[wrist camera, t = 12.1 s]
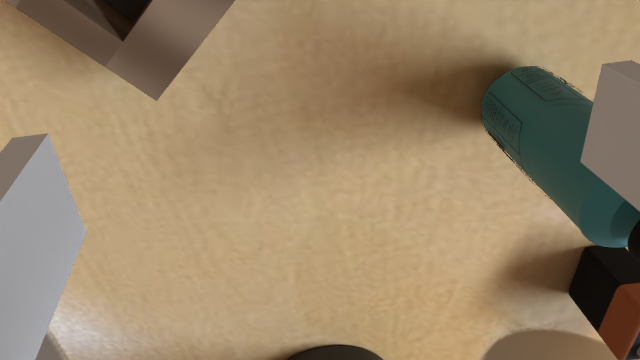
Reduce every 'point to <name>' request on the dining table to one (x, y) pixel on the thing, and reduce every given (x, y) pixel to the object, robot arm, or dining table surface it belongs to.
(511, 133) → the beverage bottle
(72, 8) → the peg block
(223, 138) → the dining table surface
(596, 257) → the battery
